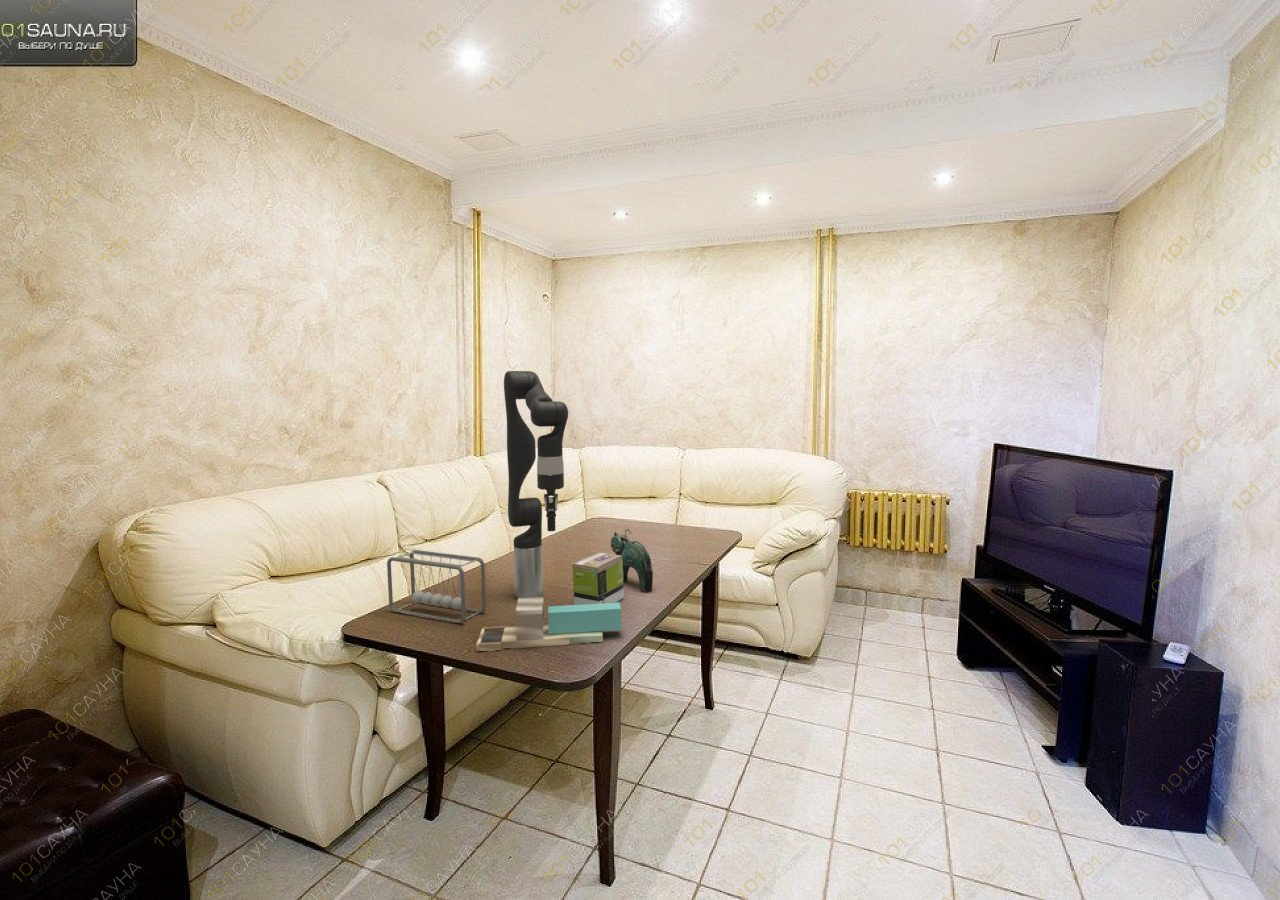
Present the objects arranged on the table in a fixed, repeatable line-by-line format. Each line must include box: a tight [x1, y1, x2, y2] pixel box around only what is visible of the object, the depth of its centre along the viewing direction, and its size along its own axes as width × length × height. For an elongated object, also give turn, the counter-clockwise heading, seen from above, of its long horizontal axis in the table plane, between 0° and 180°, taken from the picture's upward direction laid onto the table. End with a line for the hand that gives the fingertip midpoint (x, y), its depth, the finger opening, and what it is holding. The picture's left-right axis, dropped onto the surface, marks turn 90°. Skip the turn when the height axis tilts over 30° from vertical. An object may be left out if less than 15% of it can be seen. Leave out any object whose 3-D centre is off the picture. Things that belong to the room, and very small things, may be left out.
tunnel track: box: [475, 596, 604, 652], centre depth 161 cm, size 12×33×10 cm, turn 98°
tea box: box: [572, 552, 625, 605], centre depth 189 cm, size 15×10×15 cm
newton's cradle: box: [386, 549, 487, 625], centre depth 182 cm, size 30×10×18 cm, turn 66°
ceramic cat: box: [610, 528, 654, 593], centre depth 206 cm, size 20×6×20 cm, turn 37°
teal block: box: [547, 602, 622, 634], centre depth 162 cm, size 5×20×6 cm, turn 98°
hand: (551, 527), depth 168 cm, fingers open, 8 cm apart
